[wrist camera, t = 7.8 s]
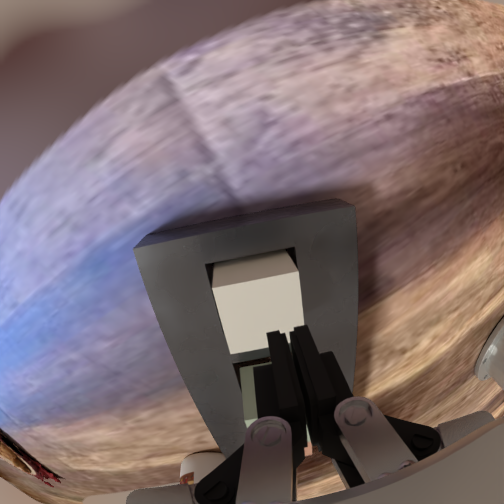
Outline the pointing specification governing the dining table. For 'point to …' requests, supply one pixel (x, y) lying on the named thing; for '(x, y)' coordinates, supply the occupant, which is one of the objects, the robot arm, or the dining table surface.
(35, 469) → the plate with food
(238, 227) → the panel
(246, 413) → the sage key
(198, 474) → the milk bottle
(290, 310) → the ivory key
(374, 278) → the dining table surface
